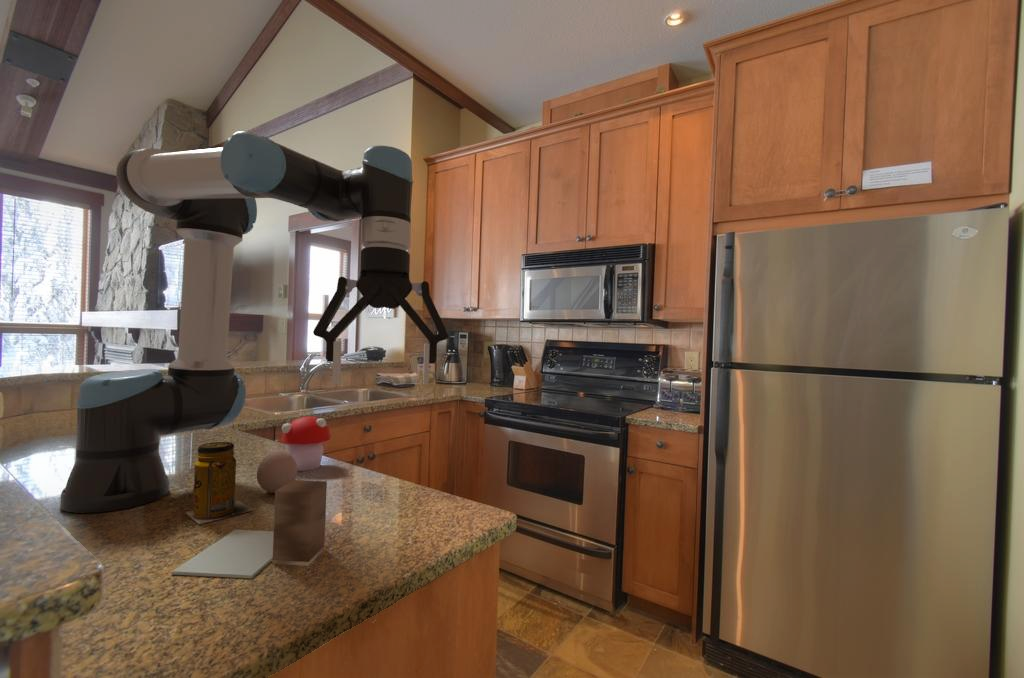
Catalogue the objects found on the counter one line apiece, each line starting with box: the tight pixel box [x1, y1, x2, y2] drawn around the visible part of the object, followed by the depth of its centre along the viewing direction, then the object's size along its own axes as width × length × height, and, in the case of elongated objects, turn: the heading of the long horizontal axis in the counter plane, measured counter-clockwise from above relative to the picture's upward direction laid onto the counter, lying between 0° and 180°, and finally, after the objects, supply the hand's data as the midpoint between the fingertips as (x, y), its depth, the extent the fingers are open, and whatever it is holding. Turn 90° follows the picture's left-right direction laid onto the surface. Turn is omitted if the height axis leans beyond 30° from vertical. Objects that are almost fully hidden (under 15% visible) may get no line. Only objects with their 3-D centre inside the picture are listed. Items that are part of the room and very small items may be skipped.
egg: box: [256, 449, 298, 494], centre depth 91 cm, size 7×7×8 cm
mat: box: [171, 529, 274, 579], centre depth 66 cm, size 10×13×1 cm
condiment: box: [185, 441, 255, 525], centre depth 80 cm, size 7×8×12 cm
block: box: [272, 479, 328, 567], centre depth 66 cm, size 5×5×10 cm
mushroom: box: [280, 415, 332, 472], centre depth 109 cm, size 11×11×12 cm
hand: (381, 383), depth 73 cm, fingers open, 13 cm apart
